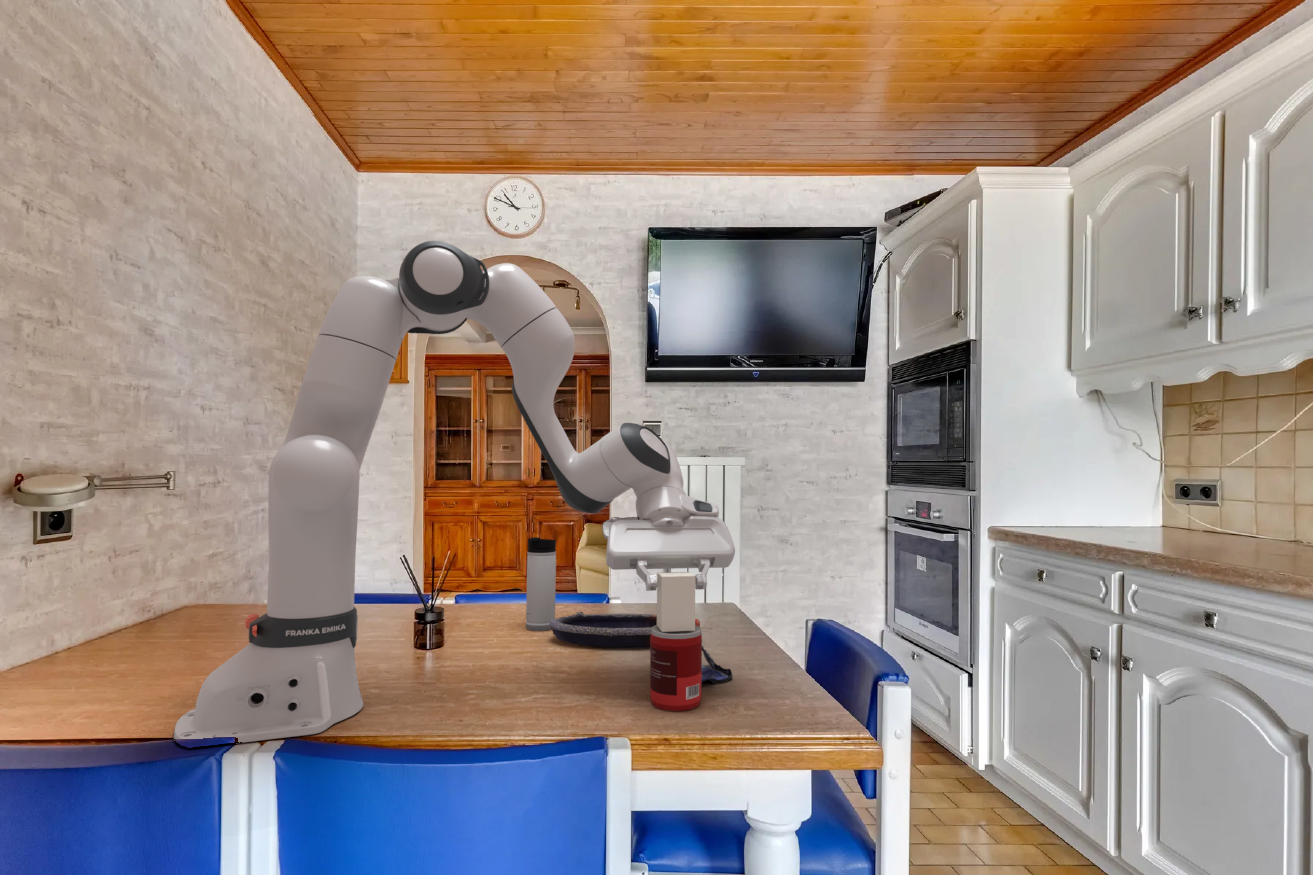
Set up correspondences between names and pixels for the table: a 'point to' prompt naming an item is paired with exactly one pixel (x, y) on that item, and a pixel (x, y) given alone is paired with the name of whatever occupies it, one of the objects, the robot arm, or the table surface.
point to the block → (676, 601)
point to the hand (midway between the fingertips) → (676, 587)
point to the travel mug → (540, 583)
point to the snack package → (714, 671)
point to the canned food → (675, 669)
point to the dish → (606, 629)
